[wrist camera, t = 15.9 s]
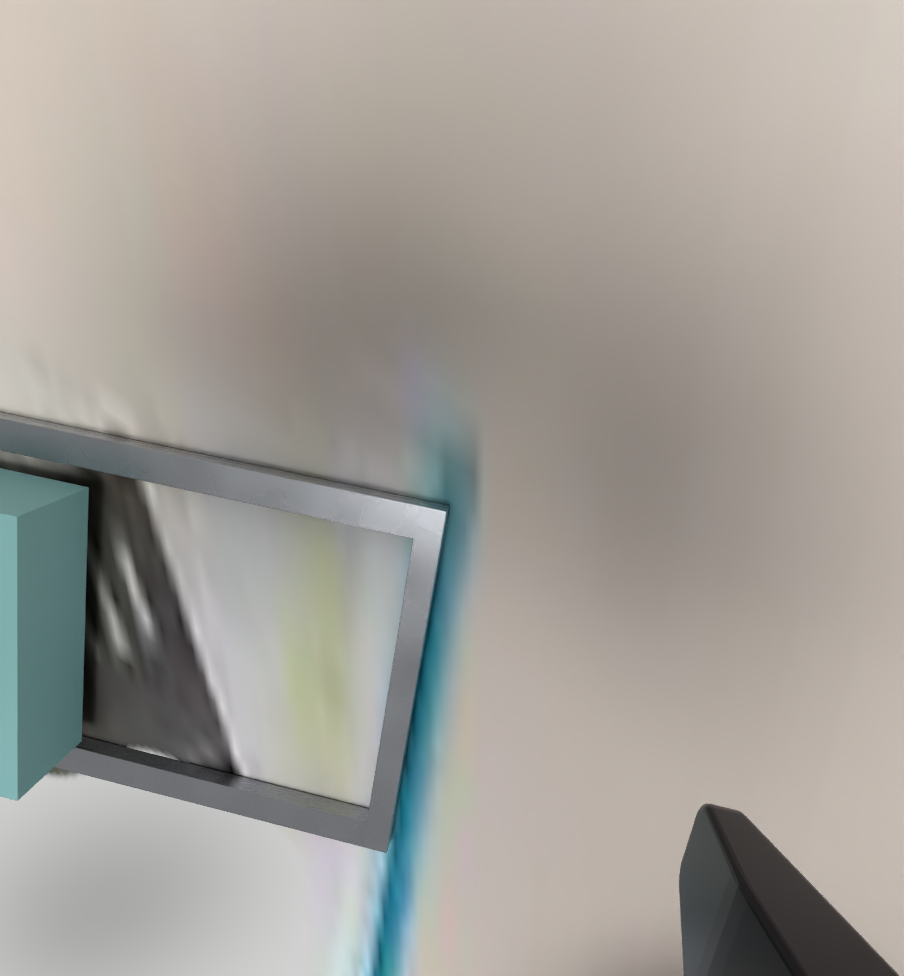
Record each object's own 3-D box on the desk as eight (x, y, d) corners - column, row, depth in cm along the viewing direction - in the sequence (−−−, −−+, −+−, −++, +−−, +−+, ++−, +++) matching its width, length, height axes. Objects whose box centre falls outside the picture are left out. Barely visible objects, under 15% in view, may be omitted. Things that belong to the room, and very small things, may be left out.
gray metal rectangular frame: (390, 839, 25) (378, 876, 23) (-185, 691, 27) (-230, 716, 25) (449, 505, 21) (440, 522, 20) (-215, 367, 23) (-269, 372, 22)
